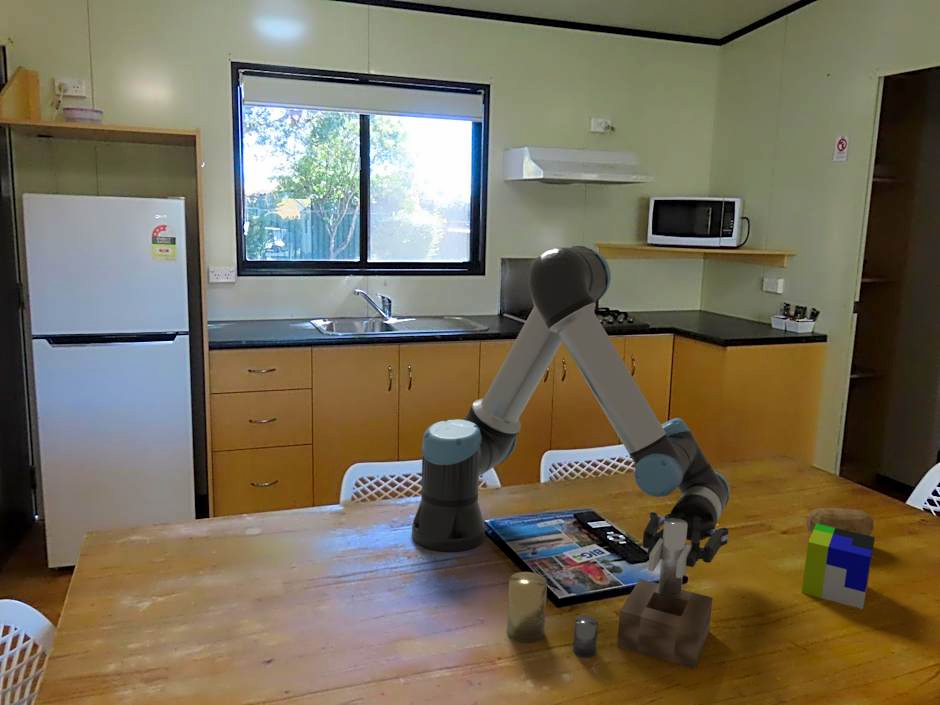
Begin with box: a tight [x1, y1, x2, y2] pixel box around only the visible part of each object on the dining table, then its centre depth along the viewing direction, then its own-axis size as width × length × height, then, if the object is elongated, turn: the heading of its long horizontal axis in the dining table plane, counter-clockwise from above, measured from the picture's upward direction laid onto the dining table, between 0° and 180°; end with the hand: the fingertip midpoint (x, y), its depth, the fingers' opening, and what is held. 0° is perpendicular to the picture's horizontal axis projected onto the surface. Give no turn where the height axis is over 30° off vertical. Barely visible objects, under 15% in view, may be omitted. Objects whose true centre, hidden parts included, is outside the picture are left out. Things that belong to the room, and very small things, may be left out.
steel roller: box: [658, 518, 688, 599], centre depth 117 cm, size 4×4×12 cm
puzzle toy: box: [801, 524, 875, 610], centre depth 137 cm, size 10×10×10 cm
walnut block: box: [616, 578, 714, 670], centre depth 119 cm, size 12×12×6 cm
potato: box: [806, 507, 875, 536], centre depth 156 cm, size 10×14×8 cm
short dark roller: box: [572, 615, 599, 659], centre depth 115 cm, size 4×4×5 cm
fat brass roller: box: [506, 571, 548, 644], centre depth 119 cm, size 6×6×9 cm
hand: (665, 565), depth 112 cm, fingers closed on steel roller, 3 cm apart
